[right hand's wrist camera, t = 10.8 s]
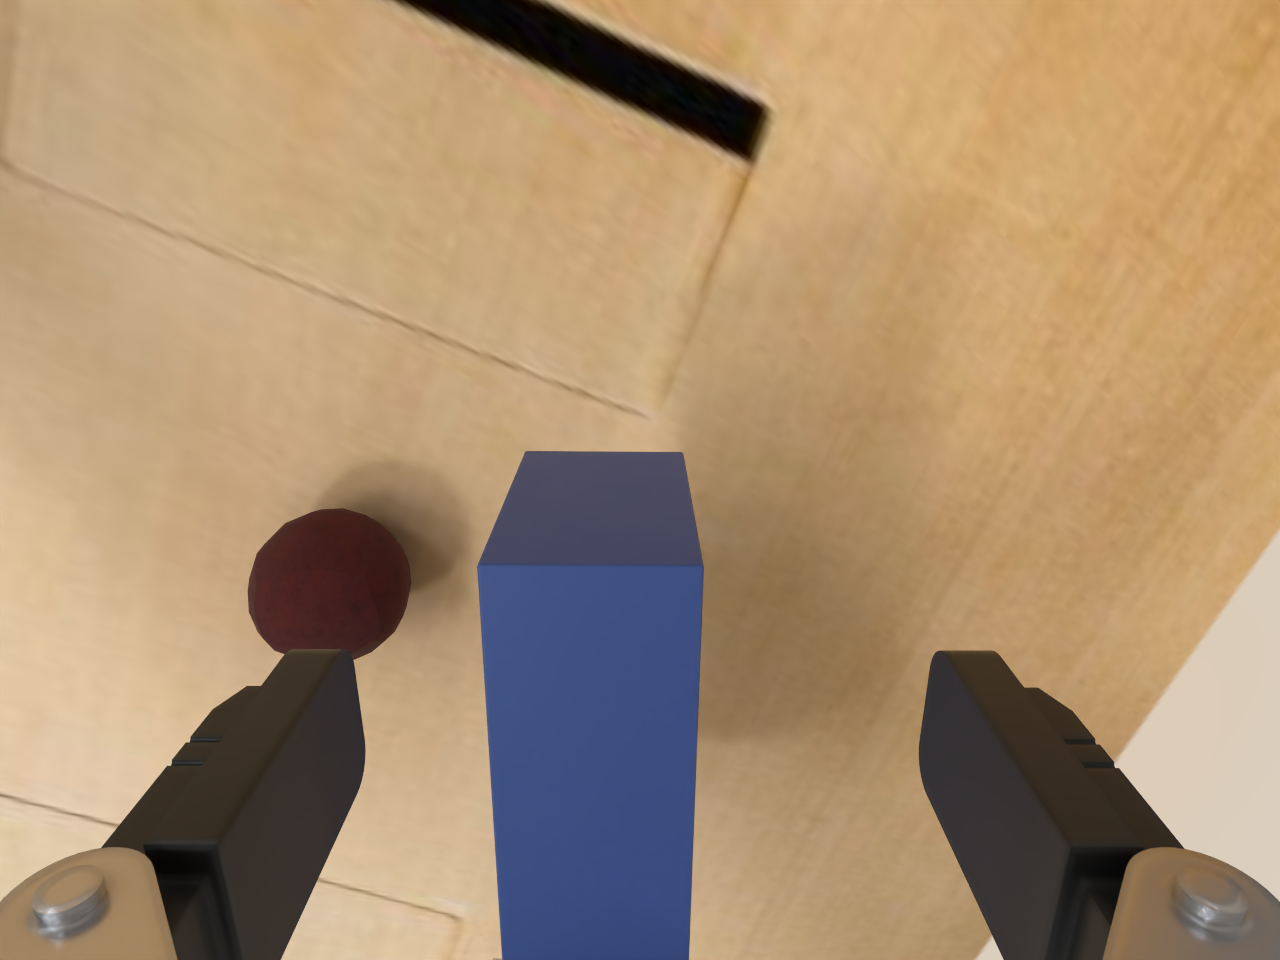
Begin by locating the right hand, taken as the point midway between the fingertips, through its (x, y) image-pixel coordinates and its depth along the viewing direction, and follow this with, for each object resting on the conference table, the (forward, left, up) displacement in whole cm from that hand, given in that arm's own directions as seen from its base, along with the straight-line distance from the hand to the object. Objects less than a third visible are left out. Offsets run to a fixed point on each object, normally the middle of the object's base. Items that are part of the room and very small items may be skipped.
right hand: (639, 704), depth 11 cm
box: (+15, -2, -20) cm, 25 cm away
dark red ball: (+12, -15, -30) cm, 36 cm away
